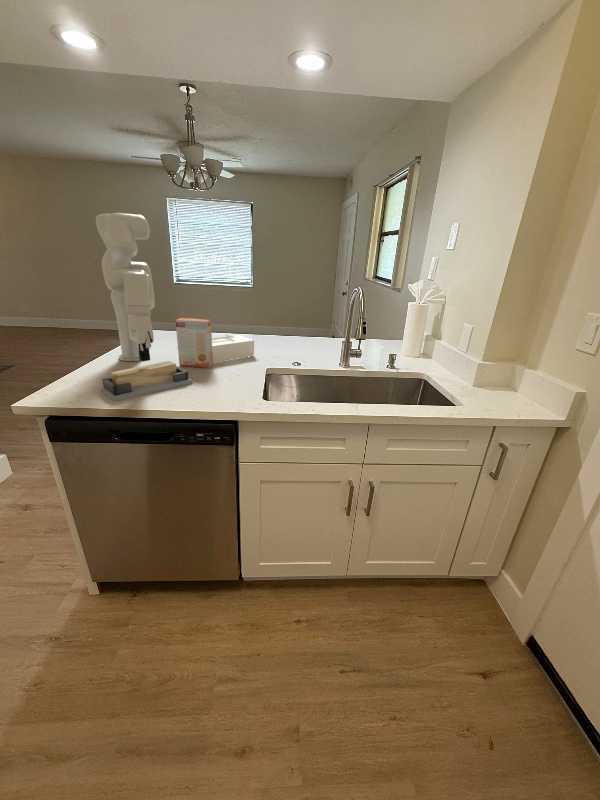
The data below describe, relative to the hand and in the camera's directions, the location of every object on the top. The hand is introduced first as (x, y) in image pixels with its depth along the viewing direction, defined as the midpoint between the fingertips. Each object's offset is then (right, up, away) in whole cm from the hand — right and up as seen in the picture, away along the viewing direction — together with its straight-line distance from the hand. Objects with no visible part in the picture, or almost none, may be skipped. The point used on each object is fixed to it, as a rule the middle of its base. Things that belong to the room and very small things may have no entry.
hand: (145, 360), depth 124 cm
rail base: (0, -10, +3) cm, 10 cm away
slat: (0, -8, +3) cm, 9 cm away
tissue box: (+19, +7, +47) cm, 51 cm away
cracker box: (+10, +1, +31) cm, 32 cm away
